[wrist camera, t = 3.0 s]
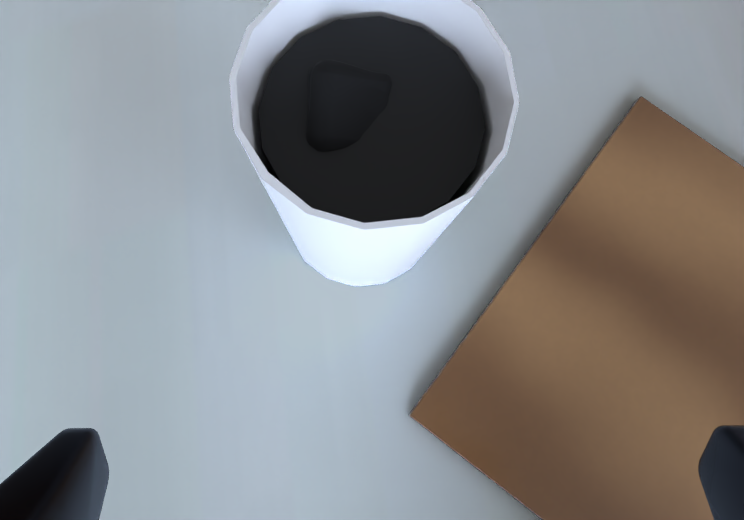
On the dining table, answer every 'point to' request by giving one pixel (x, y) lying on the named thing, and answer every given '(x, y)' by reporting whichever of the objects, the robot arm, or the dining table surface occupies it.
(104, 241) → the dining table surface
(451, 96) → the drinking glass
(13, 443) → the dining table surface
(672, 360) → the glossy brown placemat
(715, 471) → the robot arm
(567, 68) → the dining table surface
